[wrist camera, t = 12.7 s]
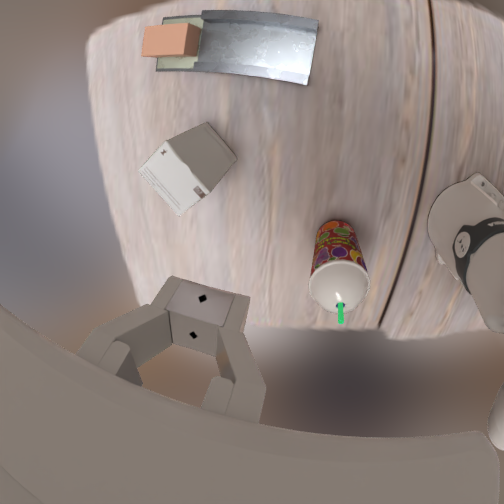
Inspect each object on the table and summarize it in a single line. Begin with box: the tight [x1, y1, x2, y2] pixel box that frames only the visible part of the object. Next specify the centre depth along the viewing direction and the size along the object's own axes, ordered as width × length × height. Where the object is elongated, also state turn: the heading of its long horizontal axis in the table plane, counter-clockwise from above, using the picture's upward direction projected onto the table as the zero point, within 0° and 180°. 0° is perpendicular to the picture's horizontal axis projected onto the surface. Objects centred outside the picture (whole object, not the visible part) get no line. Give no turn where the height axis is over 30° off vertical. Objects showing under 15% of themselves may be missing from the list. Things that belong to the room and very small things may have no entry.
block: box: [141, 23, 200, 57], centre depth 30 cm, size 7×5×4 cm
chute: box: [156, 10, 319, 85], centre depth 30 cm, size 24×10×4 cm, turn 82°
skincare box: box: [138, 122, 237, 216], centre depth 36 cm, size 8×6×15 cm
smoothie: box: [308, 220, 370, 324], centre depth 38 cm, size 8×8×20 cm
